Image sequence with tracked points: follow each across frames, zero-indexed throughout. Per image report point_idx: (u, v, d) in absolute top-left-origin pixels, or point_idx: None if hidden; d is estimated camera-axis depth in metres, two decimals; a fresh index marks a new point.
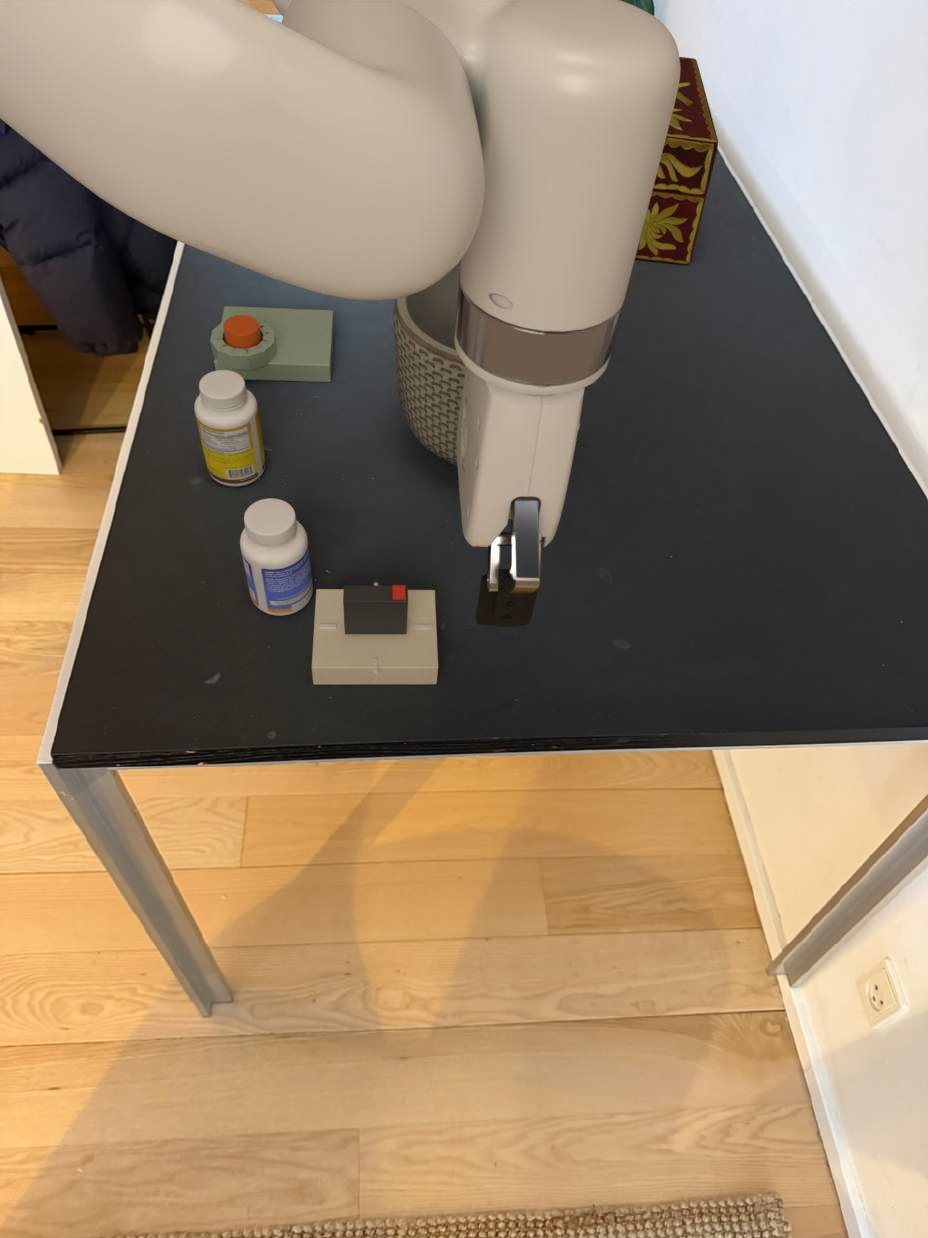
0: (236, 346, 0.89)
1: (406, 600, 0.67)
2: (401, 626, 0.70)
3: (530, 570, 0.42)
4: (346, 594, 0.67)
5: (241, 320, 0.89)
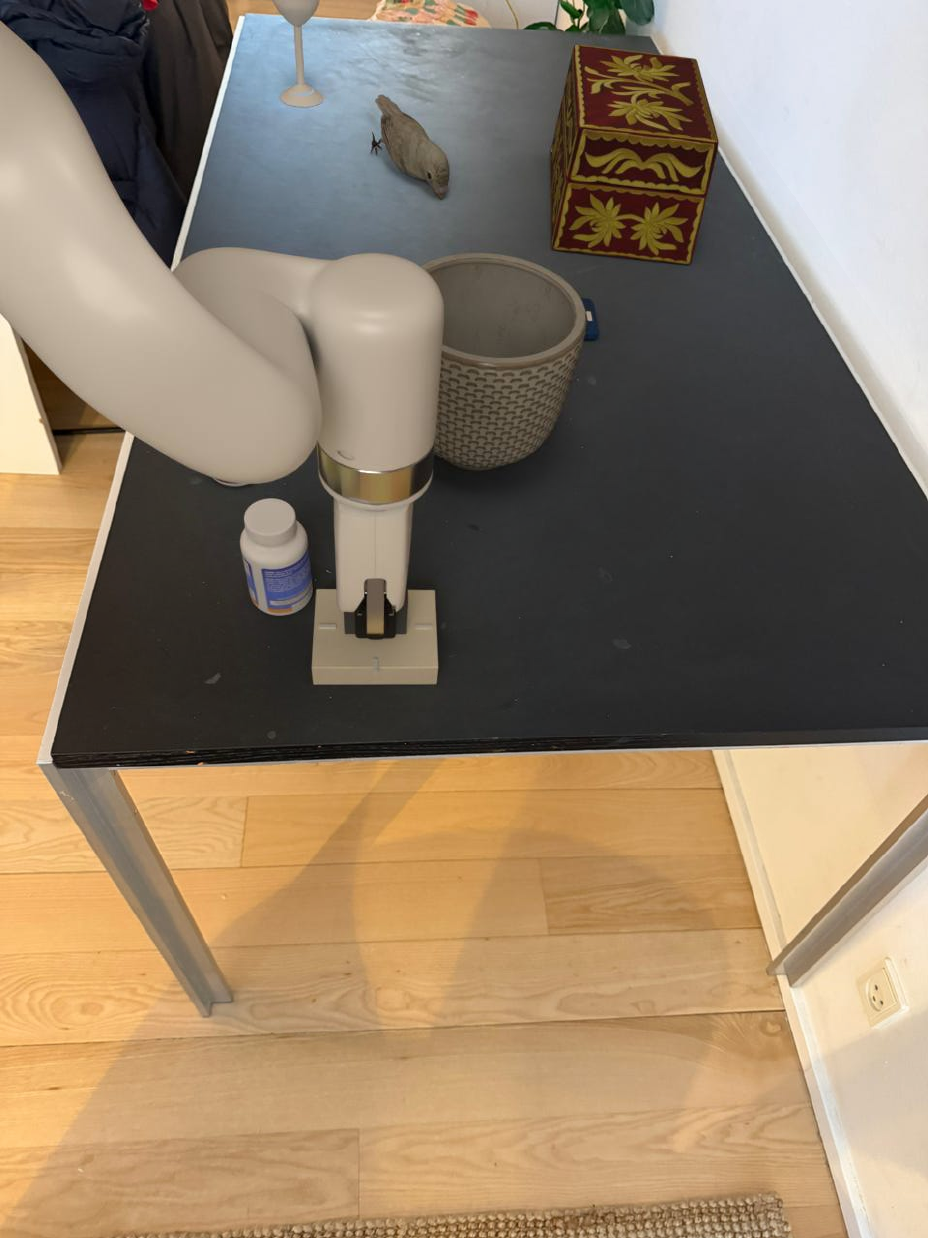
0: None
1: (406, 600, 0.67)
2: (401, 626, 0.70)
3: (377, 628, 0.61)
4: None
5: None
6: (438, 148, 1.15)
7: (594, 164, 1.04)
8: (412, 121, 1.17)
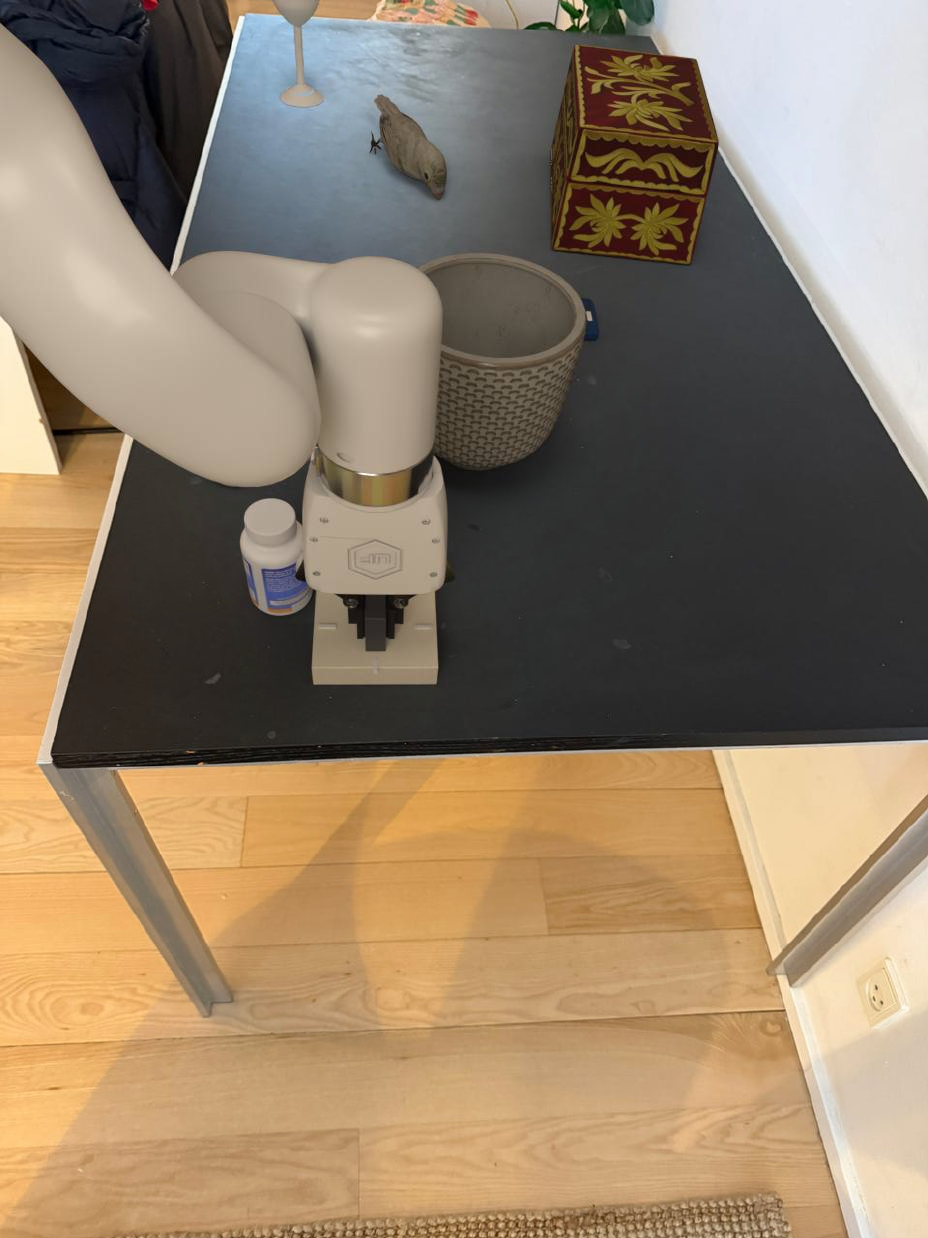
0: None
1: None
2: None
3: (453, 567, 0.65)
4: (377, 615, 0.66)
5: None
6: (435, 148, 1.15)
7: (594, 164, 1.04)
8: (410, 121, 1.17)
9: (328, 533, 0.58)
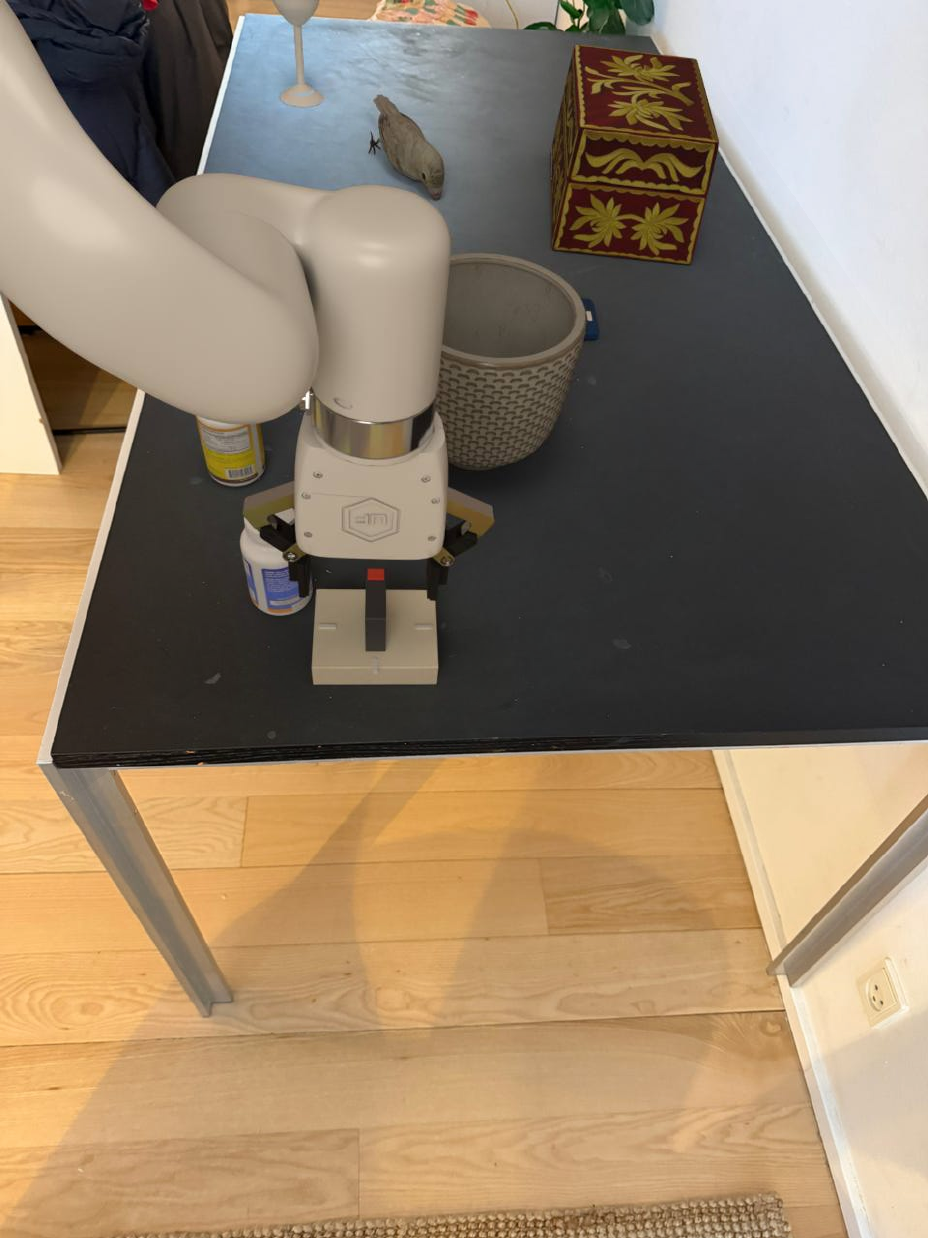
0: None
1: (384, 570, 0.69)
2: None
3: (487, 508, 0.60)
4: (377, 615, 0.66)
5: None
6: (433, 149, 1.14)
7: (594, 164, 1.04)
8: (409, 121, 1.17)
9: (322, 489, 0.54)
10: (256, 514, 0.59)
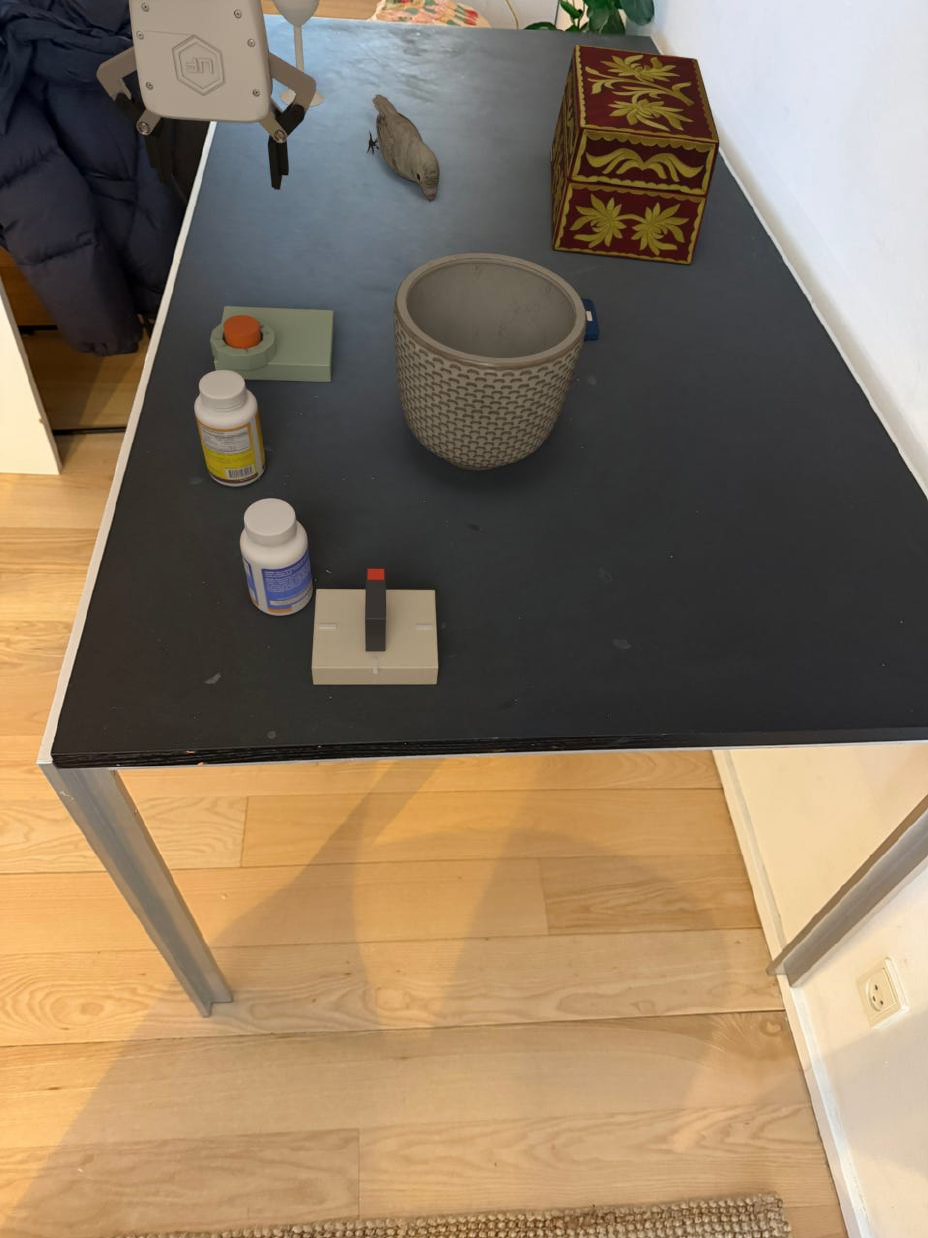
0: (236, 346, 0.89)
1: (384, 570, 0.69)
2: None
3: (309, 78, 0.71)
4: (377, 615, 0.66)
5: (241, 320, 0.89)
6: (428, 149, 1.14)
7: (595, 164, 1.04)
8: (406, 122, 1.17)
9: (151, 25, 0.65)
10: (108, 77, 0.69)
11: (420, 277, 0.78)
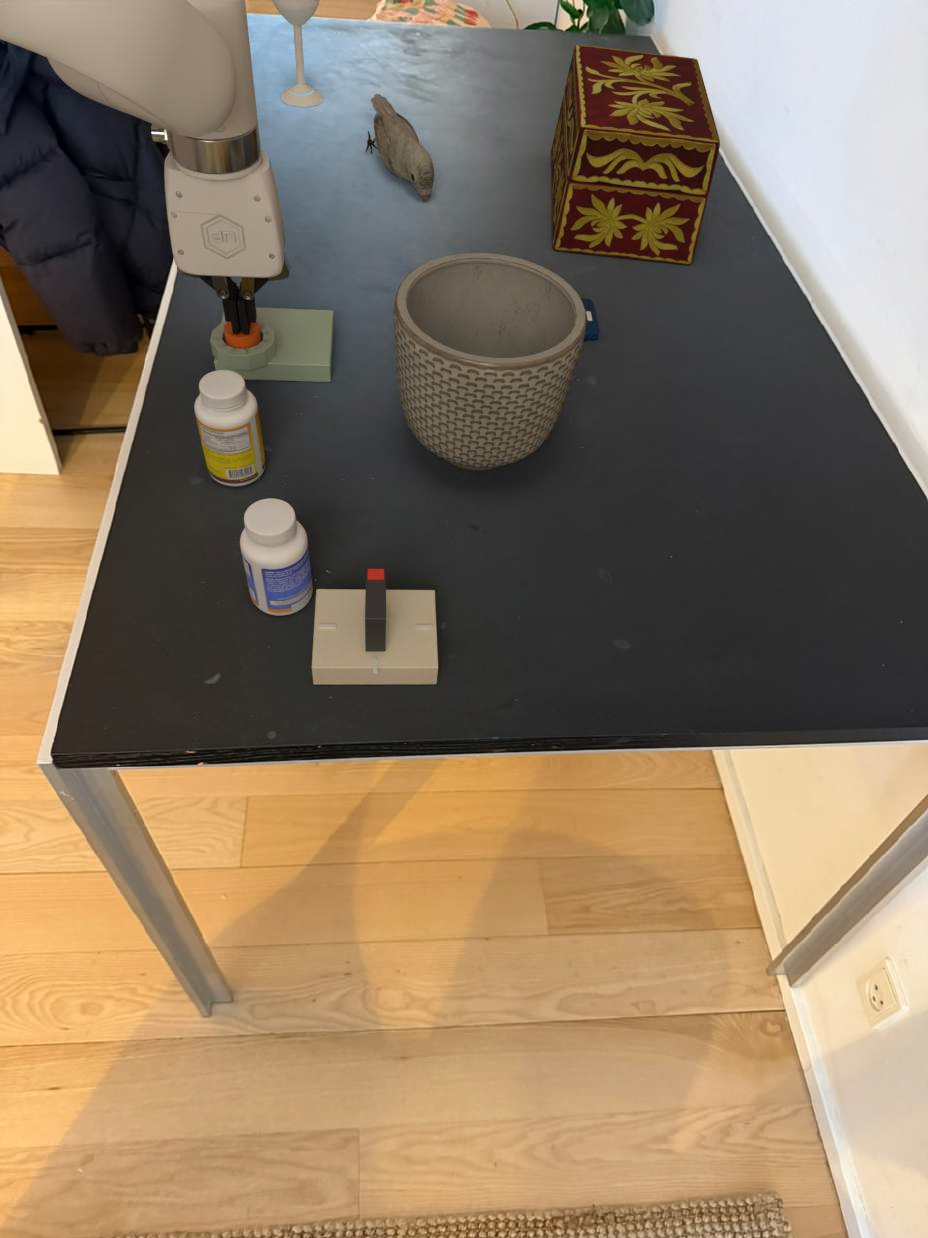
0: None
1: (384, 570, 0.69)
2: None
3: (288, 266, 0.84)
4: (377, 615, 0.66)
5: None
6: (423, 150, 1.14)
7: (595, 164, 1.04)
8: (403, 122, 1.17)
9: (184, 208, 0.76)
10: None
11: (420, 277, 0.78)
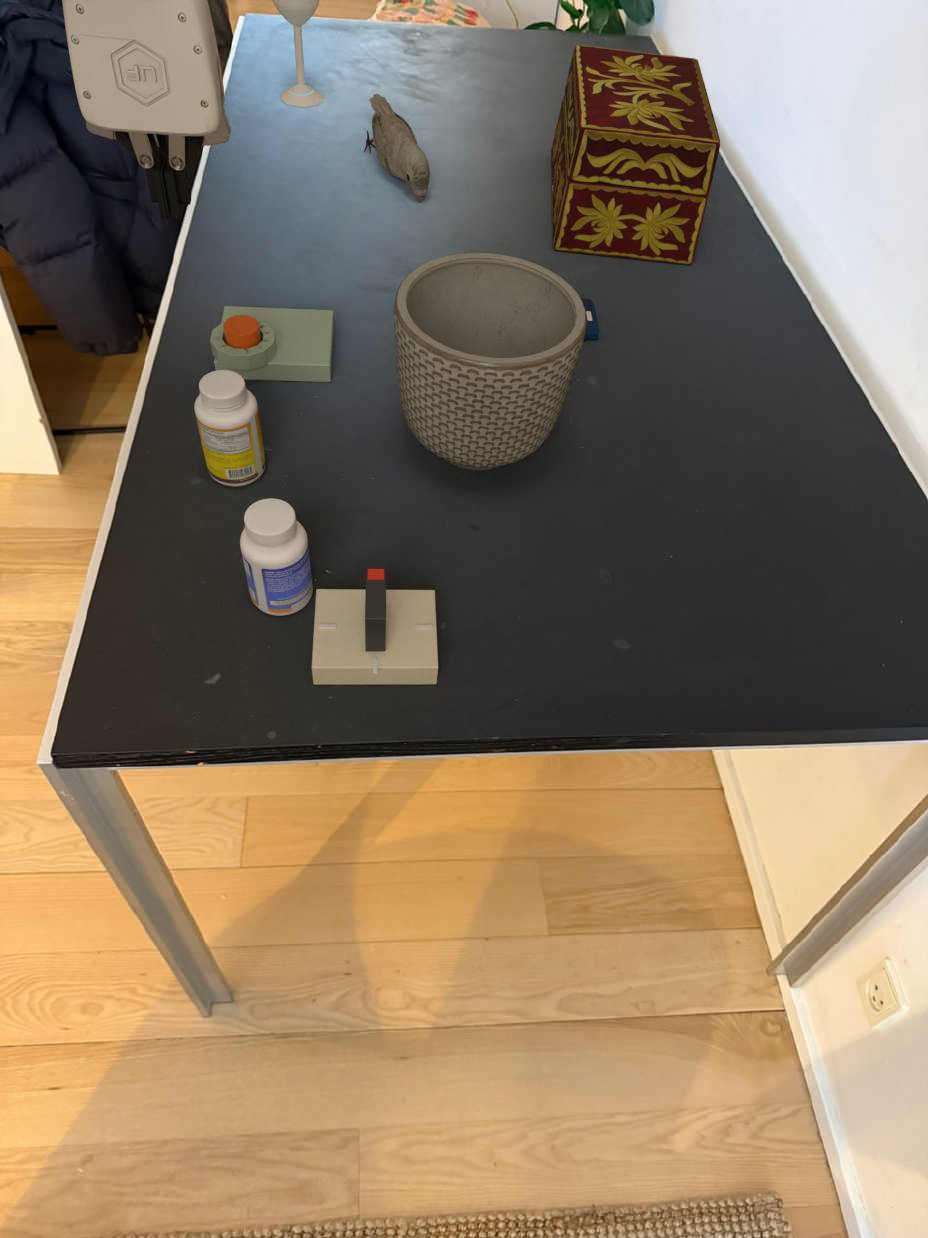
0: (236, 346, 0.89)
1: (384, 570, 0.69)
2: None
3: (229, 126, 0.67)
4: (377, 615, 0.66)
5: (241, 320, 0.89)
6: (419, 150, 1.14)
7: (596, 164, 1.04)
8: (400, 122, 1.17)
9: (87, 29, 0.59)
10: None
11: (420, 277, 0.78)
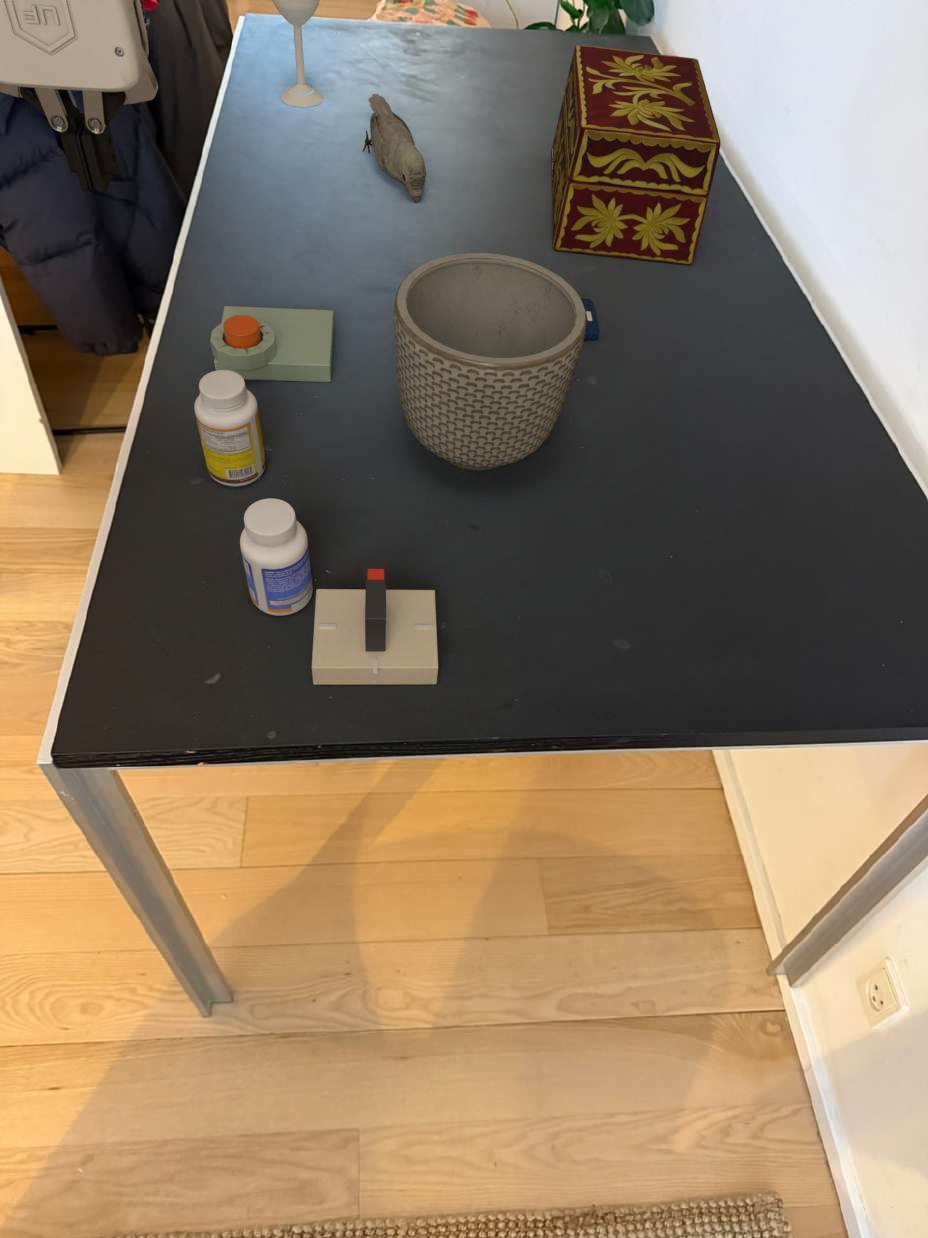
0: (236, 346, 0.89)
1: (384, 570, 0.69)
2: None
3: (154, 81, 0.57)
4: (377, 615, 0.66)
5: (241, 320, 0.89)
6: (415, 151, 1.14)
7: (596, 164, 1.04)
8: (398, 122, 1.17)
9: None
10: None
11: (420, 277, 0.78)
